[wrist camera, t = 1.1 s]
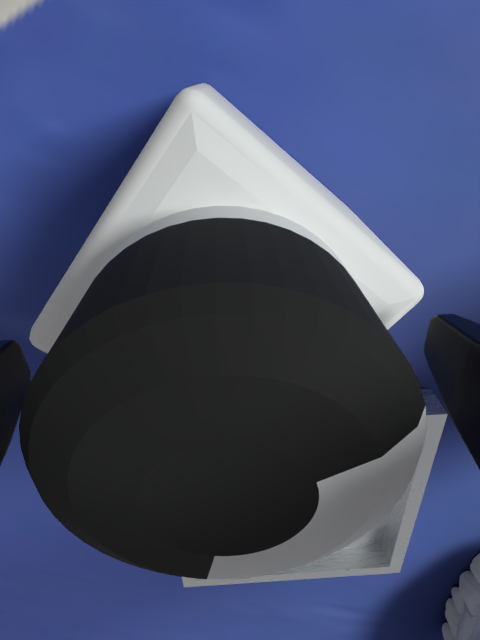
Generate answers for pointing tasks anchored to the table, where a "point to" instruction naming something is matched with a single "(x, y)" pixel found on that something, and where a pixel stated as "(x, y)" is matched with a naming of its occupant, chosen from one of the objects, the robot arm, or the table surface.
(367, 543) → the tray
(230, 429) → the medicine bottle
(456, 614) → the dental model
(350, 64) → the table surface
